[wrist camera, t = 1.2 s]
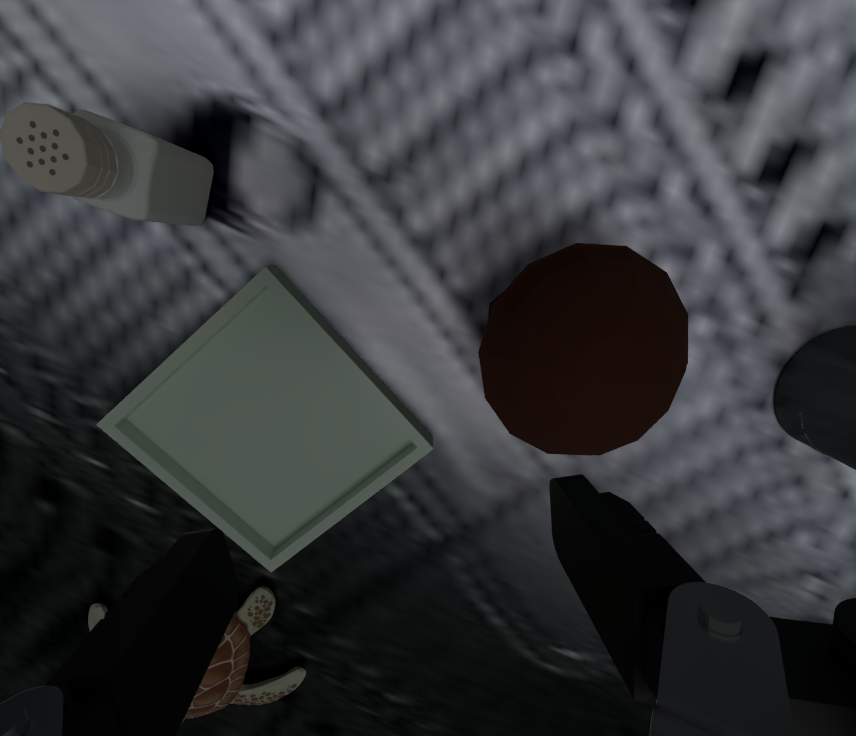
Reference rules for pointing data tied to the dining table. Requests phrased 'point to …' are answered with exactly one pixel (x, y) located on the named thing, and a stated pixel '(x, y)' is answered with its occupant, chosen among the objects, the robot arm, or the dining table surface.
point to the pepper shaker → (106, 164)
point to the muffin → (584, 350)
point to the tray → (268, 422)
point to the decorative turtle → (234, 661)
